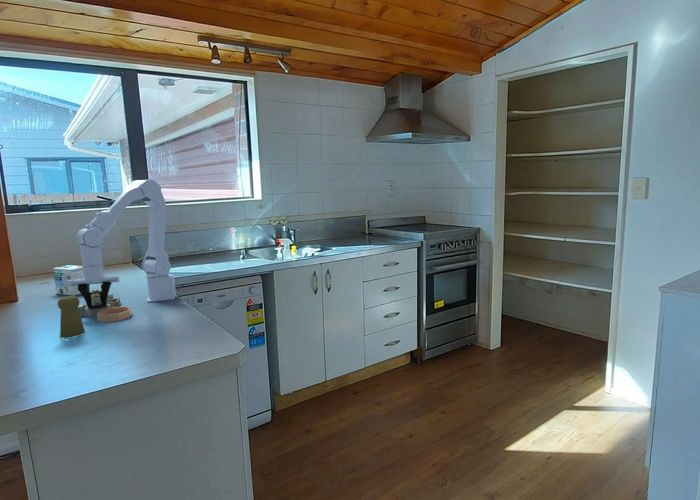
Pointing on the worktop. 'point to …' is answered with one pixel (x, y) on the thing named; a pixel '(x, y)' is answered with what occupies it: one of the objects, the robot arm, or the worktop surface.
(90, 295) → the cell
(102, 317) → the cup
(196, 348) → the worktop surface
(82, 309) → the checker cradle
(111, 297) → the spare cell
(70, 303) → the cork
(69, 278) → the light bulb box
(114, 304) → the trough
